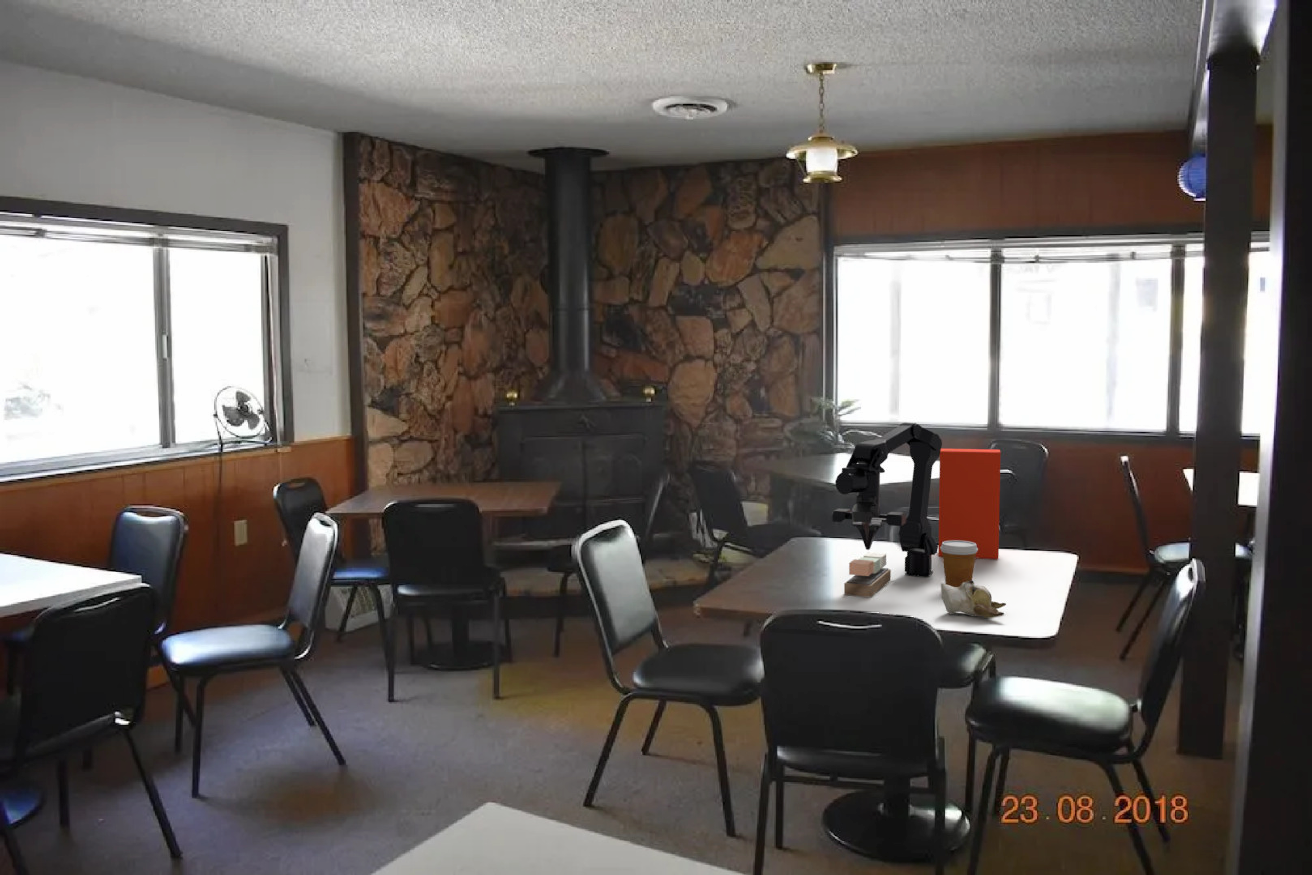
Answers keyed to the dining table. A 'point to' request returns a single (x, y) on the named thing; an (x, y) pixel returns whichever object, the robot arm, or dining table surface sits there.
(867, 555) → the key white
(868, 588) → the key panel
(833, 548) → the dining table surface
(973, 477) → the file binder
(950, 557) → the disposable coffee cup
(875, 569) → the key sage
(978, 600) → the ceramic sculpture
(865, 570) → the key terracotta
